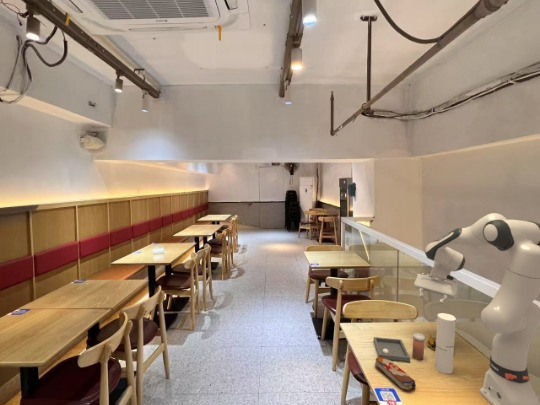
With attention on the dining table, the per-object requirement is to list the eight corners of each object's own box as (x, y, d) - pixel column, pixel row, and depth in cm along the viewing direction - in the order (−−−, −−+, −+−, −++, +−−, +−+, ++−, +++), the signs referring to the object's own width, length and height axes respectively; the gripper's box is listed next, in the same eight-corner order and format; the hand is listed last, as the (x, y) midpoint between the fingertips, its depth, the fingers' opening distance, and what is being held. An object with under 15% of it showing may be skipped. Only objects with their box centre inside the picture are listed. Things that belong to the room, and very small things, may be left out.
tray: (410, 362, 142) (410, 357, 141) (379, 359, 144) (379, 354, 144) (401, 344, 157) (401, 339, 157) (373, 341, 160) (373, 337, 159)
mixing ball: (389, 356, 145) (389, 351, 145) (382, 356, 145) (383, 350, 145) (387, 353, 148) (388, 347, 148) (381, 352, 148) (381, 347, 148)
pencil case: (394, 363, 142) (394, 353, 141) (419, 392, 122) (420, 381, 122) (372, 364, 140) (372, 354, 140) (394, 394, 121) (394, 383, 121)
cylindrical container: (455, 374, 133) (458, 321, 131) (437, 372, 135) (440, 319, 132) (448, 364, 140) (452, 313, 138) (432, 362, 141) (435, 312, 139)
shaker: (425, 361, 143) (426, 339, 142) (413, 360, 144) (414, 338, 143) (421, 354, 148) (422, 333, 147) (410, 353, 149) (411, 332, 148)
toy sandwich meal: (452, 343, 158) (452, 335, 158) (457, 358, 146) (457, 349, 145) (425, 339, 163) (426, 330, 162) (428, 352, 150) (428, 343, 150)
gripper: (417, 269, 164) (408, 290, 158) (459, 279, 149) (451, 303, 143) (420, 275, 167) (411, 296, 162) (461, 285, 152) (454, 309, 147)
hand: (430, 300), depth 152 cm, fingers open, 8 cm apart
